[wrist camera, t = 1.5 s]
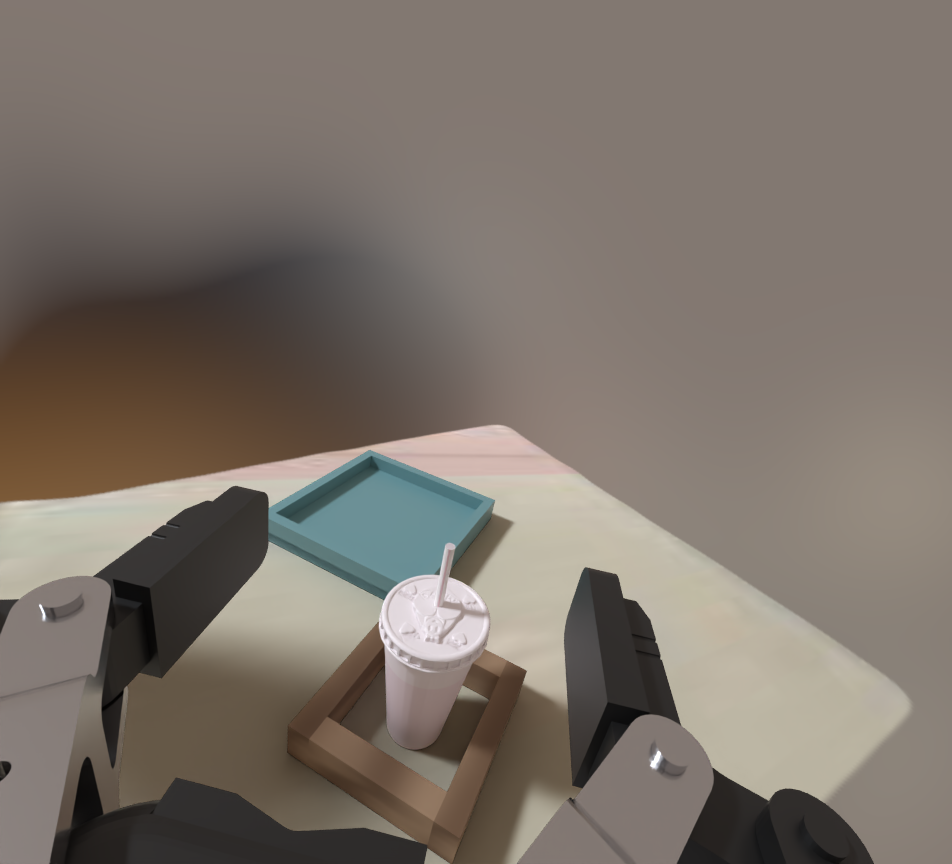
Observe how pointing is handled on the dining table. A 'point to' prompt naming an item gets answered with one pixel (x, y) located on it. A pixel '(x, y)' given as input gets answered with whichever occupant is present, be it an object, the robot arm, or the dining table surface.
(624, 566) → the dining table surface
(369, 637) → the collar
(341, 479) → the tray
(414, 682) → the smoothie
